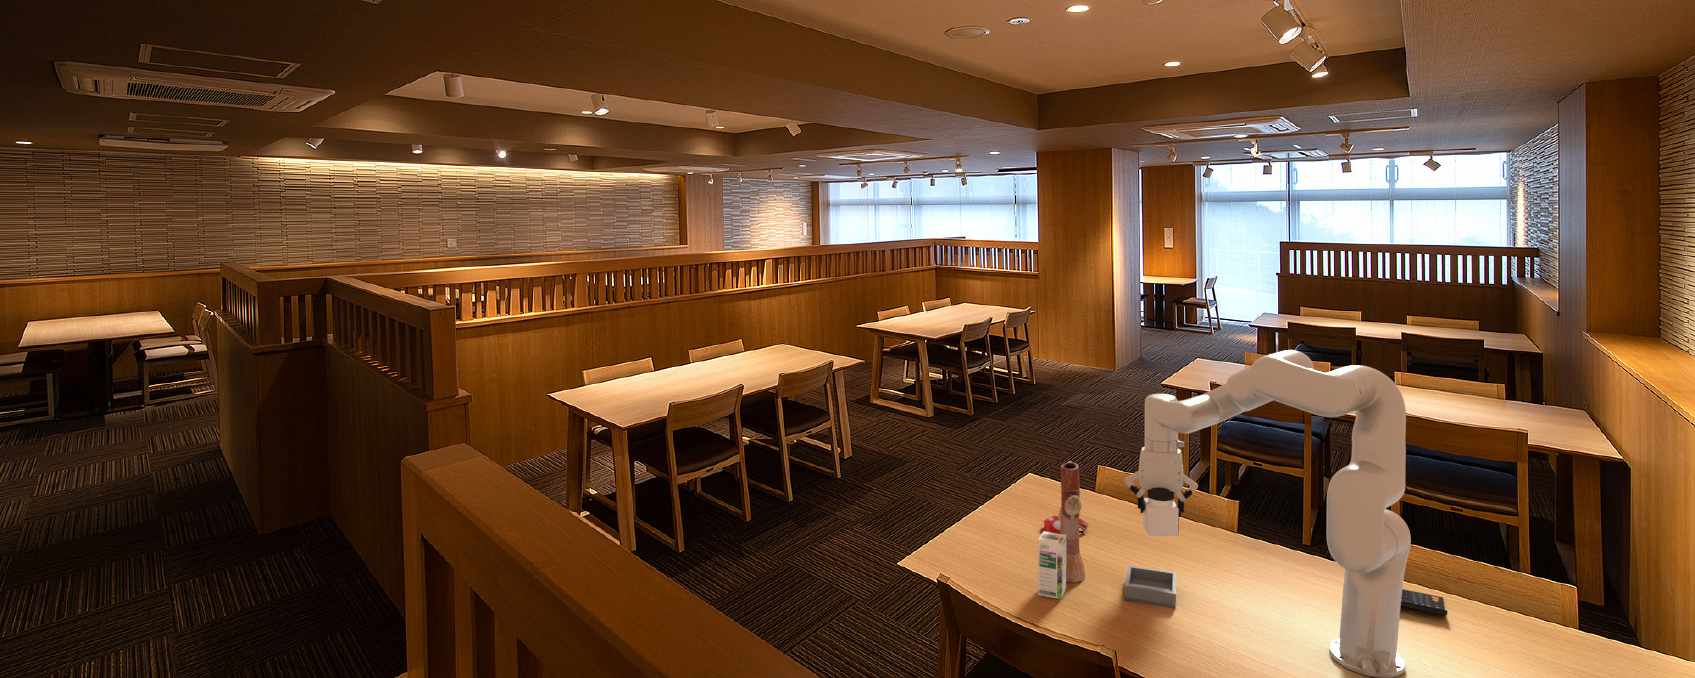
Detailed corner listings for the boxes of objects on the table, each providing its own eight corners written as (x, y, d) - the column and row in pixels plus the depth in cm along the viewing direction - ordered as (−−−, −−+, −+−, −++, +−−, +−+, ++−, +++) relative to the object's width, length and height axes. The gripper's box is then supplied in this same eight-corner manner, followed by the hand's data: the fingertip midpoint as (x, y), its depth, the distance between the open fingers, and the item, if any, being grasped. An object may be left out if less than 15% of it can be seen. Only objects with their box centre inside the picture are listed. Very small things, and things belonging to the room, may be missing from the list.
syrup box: (1037, 595, 184) (1037, 539, 182) (1043, 584, 189) (1043, 529, 187) (1061, 600, 182) (1061, 543, 179) (1066, 589, 187) (1067, 533, 184)
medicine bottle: (1179, 536, 186) (1179, 489, 184) (1147, 535, 187) (1148, 489, 186) (1172, 525, 193) (1173, 479, 191) (1142, 524, 194) (1142, 479, 192)
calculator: (1442, 600, 175) (1443, 588, 175) (1446, 624, 166) (1447, 611, 166) (1392, 590, 181) (1393, 578, 180) (1393, 612, 171) (1394, 600, 171)
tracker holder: (1058, 539, 212) (1035, 519, 221) (1058, 551, 215) (1035, 530, 223) (1092, 521, 216) (1068, 502, 225) (1092, 533, 219) (1068, 513, 227)
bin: (1175, 608, 176) (1176, 593, 176) (1124, 599, 181) (1124, 586, 180) (1176, 585, 186) (1176, 572, 186) (1127, 578, 191) (1128, 565, 190)
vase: (1057, 566, 199) (1058, 455, 194) (1086, 570, 196) (1088, 458, 191) (1052, 585, 189) (1053, 469, 184) (1083, 589, 186) (1084, 472, 181)
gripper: (1200, 442, 187) (1199, 511, 189) (1124, 438, 194) (1124, 504, 196) (1200, 451, 180) (1199, 522, 182) (1122, 446, 187) (1122, 515, 189)
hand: (1160, 512), depth 189 cm, fingers closed on medicine bottle, 8 cm apart
